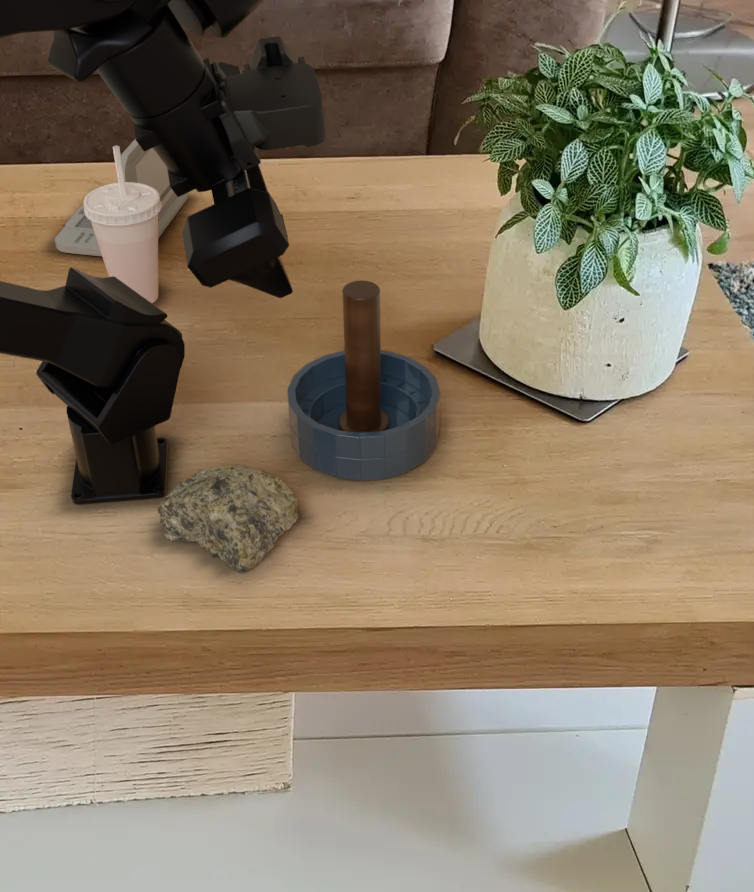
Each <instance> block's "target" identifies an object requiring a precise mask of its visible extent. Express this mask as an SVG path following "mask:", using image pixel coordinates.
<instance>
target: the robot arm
mask: <svg viewBox="0 0 754 892" xmlns="http://www.w3.org/2000/svg"><path fill="white" fill-rule="evenodd" d="M264 2H266V0H0V39H3V38H7V37H11V36H14V35H19V34H25V33H27V34H28V33H40V32H53V40H52V43H51V44H50V48H49V52H48V57H47V64H48V66H49V67H50V68H51V69H54V70H56V71H57V72H59V73H60V74H63V75H65V76H66V77H68V78H70V79H72V80H74V81H76V82H78V83H83V82H85V81H86V80H87V79H88V78H90V77H91V76H92V75H93V74H94V73H95V72H96V73H98V75H99V76H100V78H101V79H102V80H103V82H104V84H106V86H107V87H108V88H109V90H110V91H111V93H112V94H113V96H114V97H115V98H116V99H117V101H118V103H119V105H121V107H123V109H124V111H125V112H126V114H127V115H128V116H129V117H130V119H131V120H132V122H133V131H134V140H135V139H136V141H137V143H138V144H139V145H140V147H141V148H142V149H143V151H144V152H145V151H147V150H149V149H151V148H153V149H154V150H155V152H156V153H157V155H158V156H159V157H160V159H161V160H162V161H163V163H164V164H165V166H166V167H167V170H168V177H169V183H170V187H171V189H172V190H173V191H174V193H175V194H176V195H177V197H180V196H182V195H184V194H186V193H188V194H189V193H190V192H193V191H194V190H195V191H196V192H198V193H203V192H208V191H211V193H212V194H211V196H212V201H213V204H211V205H210V206H208V207H205V208H203V209H201V210H199V211H197V212H194V213H192V214H190V215H188V216H187V217H186V220H185V223H184V226H183V229H182V232H181V234H182V241H183V246H184V252H185V259H186V265H187V268H188V269H189V271H190V272H191V273H192V275H193V276H194V277H195V279H196V280H197V281H198V282H199V283H200V285H201V286H202V287H207V288H213V287H216V286H219V285H221V284H222V283H225V282H227V281H231V282H235V283H238V284H240V285H243V286H247V287H249V288H252V289H253V290H254V289H255V290H257V291H259V292H263V293H265V294H268V295H270V296H272V297H275V298H278V299H282V298H285V297H287V296H289V295H291V294H292V293H293V291H294V290H293V287H292V284H291V281H290V278H289V276H288V273H287V271H286V269H285V265H284V264H283V260H282V259H281V257H282V256H283V255H284V254H285V253H286V251H287V250H288V248H289V247H290V243H289V242H290V241H289V236H288V235H289V234H288V232H287V227H286V224H285V220H284V215H283V213H281V211H280V210H279V207H278V205H277V203H276V201H275V200H274V198H273V197H272V195H271V194H270V192H269V191H268V188H267V185H266V181H265V178H264V176H263V172H262V170H261V167H260V164H261V163H262V161H261V156H260V154H259V152H258V151H257V150H261V151H272V150H279V149H285V148H292V147H298V146H304V147H306V148H308V147H309V148H311V147H315V146H318V145H321V144H322V143H323V142H324V141H325V140H326V138H327V136H326V135H327V133H326V125H325V114H324V103H323V95H322V90H321V88H320V83H319V80H318V78H317V75H316V72H315V69H314V67H313V66H312V65H310V64H308V63H307V62H306V59H305V57H304V56H298V57H297V60H296V59H295V55H294V54H293V52H292V51H291V50H290V48H289V47H288V45H287V44H286V43H285V41H284V40H283V39H282V37H281V36H279V35H278V36H270V37H263V38H259V39H258V41H257V43H256V46H255V48H254V50H253V53H252V56H251V59H250V64H249V63H247V64H246V63H245V64H243V65H242V67H243V70H242V69H241V67H240V66H239V65H235V64H231V63H227V62H223V61H219V62H217V61H214V62H212V60H211V59H210V57H206V58H204V59H203V58H202V57H201V55H200V54H199V52H198V50H197V49H196V47H195V46H194V44H193V42H192V41H191V39H190V38H189V36H188V35H187V33H186V32H185V30H184V28H185V29H186V30H188V31H189V32H190V33H192V34H193V35H195V36H198V37H201V36H204V34H206V32H208V33H209V34H211V35H213V36H215V37H217V38H221V39H224V38H227V37H228V36H229V35H230V34H231V33H232V32H234V31H235V29H237V28H238V27H239V26H240V25H241V24H242V23H243V22H244V21H245V20H246V19H247V18H248V17H249V16H250V15H252V14H253V13H254V12H255V11H256V10H257V9H258V8H259V7H260V6H261V5H262V4H263V3H264ZM182 26H183V27H184V28H183V27H182ZM167 318H168V314H167V313H166V312H165V311H163V309H160V308H159V307H158V306H156V305H155V304H153V303H151V302H149V301H148V300H146V299H145V298H144V297H142V296H141V295H140V294H138V293H137V292H135V291H134V290H133V289H131V288H130V287H128V286H127V285H126V284H124V283H123V282H122V281H120V280H119V279H117V278H116V277H114V276H113V277H109V276H106V277H100V276H99V277H98V276H93V275H90V274H88V273H86V272H84V271H81V270H79V269H78V268H75V267H72V266H71V267H69V269H68V272H67V276H66V281H65V284H64V285H62V286H59V287H56V288H53V289H49V290H48V289H47V290H42V289H36V288H31V287H27V286H23V285H19V284H15V283H10V282H7V281H2V280H0V354H1V355H7V356H13V357H18V358H23V359H30V360H35V361H39V362H40V361H41V363H40V365H39V366H38V368H37V369H36V372H35V375H36V376H37V377H38V379H39V380H40V382H41V383H42V384H43V385H44V387H45V388H46V389H47V391H48V392H49V393H51V394H52V395H54V396H56V397H57V398H58V399H59V400H60V401H62V402H63V403H64V404H65V405H66V416H67V421H68V426H69V430H70V435H71V440H72V444H73V448H74V453H75V458H76V459H75V464H74V472H73V477H72V478H73V479H72V485H71V486H72V488H71V494H70V499H71V502H72V504H74V505H86V504H88V505H89V504H101V503H113V502H123V501H136V500H137V501H138V500H147V499H159V498H162V497H164V496H165V495H167V478H168V477H167V475H168V455H169V453H168V450H169V444H168V439H167V438H166V437H157V431H156V426H158V425H161V424H163V423H164V422H167V421H169V420H170V418H171V415H172V411H173V405H174V400H175V395H176V391H177V387H178V381H179V377H180V372H181V369H182V366H183V362H184V360H185V356H186V355H185V352H186V351H185V350H186V349H185V348H186V347H185V346H186V345H185V342H184V339H183V333H182V331H180V330H179V329H178V328H177V327H176V326H174V325H172V323H170V322H169V321H167V320H166V319H167Z"/></svg>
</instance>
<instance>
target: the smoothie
mask: <svg viewBox="0 0 754 892" xmlns="http://www.w3.org/2000/svg"><path fill="white" fill-rule="evenodd" d="M112 150H113V151H112V153H113V158H114V165H115V172H116V177H117V182H114V183H109V184H105V185H101V186H98V187H96V188H94V189H93V190H91V191H89V192H88V193H87V194H86V195H85V197H84V198H83V200H82V201H83V202H82V204H84V213H85V215H86V217H87V218H88V219H89V220H91V223H92V226H93V229H94V233H95V235H96V239H97V242H98V245H99V248H100V251H101V254H102V256H101V257H102V260H103V263H104V266H105V267H104V268H105V269H106V273H107V277H113V276H114V277H116V278H117V279H119V280H120V281H122V282H123V283H124V284H126V285H127V286H128V287H130V288H131V289H133V290H134V291H135V292H137V293H138V294H140V295H141V296H142V297H144V298H145V299H146V300H148V301H149V302H151V303H152V304H153V303H155V302H156V301H157V300H158V299H159V238H158V213H159V211H160V210H161V207H162V205H161V201H160V196H159V193H158V191H157V190H155V189H154V188H152V187H151V186H148V185H145V184H141V183H134V182H125V179H124V172H123V166H122V160H121V154H122V153H121V147H120V146H119V145H113V146H112Z"/></svg>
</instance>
